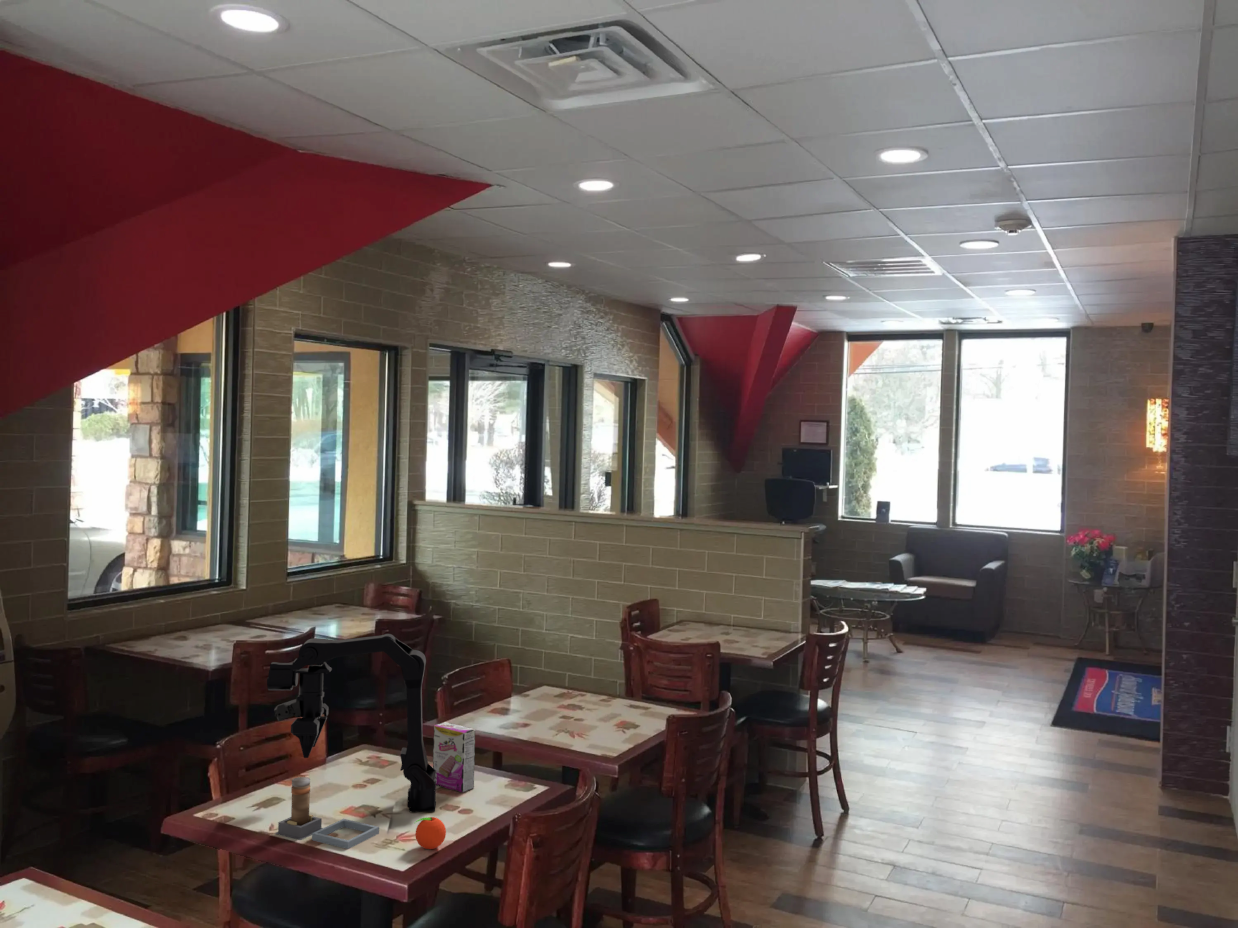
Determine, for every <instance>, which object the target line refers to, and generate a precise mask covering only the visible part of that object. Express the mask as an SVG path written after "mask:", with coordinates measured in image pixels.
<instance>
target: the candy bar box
mask: <svg viewBox="0 0 1238 928" xmlns="http://www.w3.org/2000/svg"><path fill="white" fill-rule="evenodd" d="M475 749H476V729H475V728H471V727H467V726H464V725H463V726H462V725H460V724H455V723H452V722H448V721H444V722H441V723H438V724H435V725H433V751H432V757H433V758H432V767H433V768H434V769H435V770H436V773H435V779H434V781H436V787H441V788H445V789H448V790H453V791H455V792H459V793H467V792H468V791H470V790H472V789H475V788H474V787H475V758H476V757H475V756H476V755H475V753H476V752H475V751H476V750H475Z"/></svg>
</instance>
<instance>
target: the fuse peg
mask: <svg viewBox="0 0 1238 928" xmlns="http://www.w3.org/2000/svg"><path fill="white" fill-rule="evenodd" d="M310 792H311V778H310V777H307V776H299V777H298V776H297V777H294V778H292V779H291V792H290V793H291V815H290V817H291V821H294V822H297V825H298V826H302V825H304V824H306V823H309V814H310V794H311V793H310Z"/></svg>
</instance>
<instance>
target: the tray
mask: <svg viewBox="0 0 1238 928" xmlns="http://www.w3.org/2000/svg"><path fill="white" fill-rule="evenodd" d="M321 828H322V829H320V830H318V831H316V832H314V833H312V835H311V840H312V841H314V842H318V843H322V844H327V845H330V846H333V847H338V848H342V849H343V848H344V849H347V850H349V849H351V848H353V847H355V846H357V845H359V844H362V843H363V842H365V841H367V840H369V839H371V838H373V837H375V836H377V835H379V834H380V826H376V825H373V824H372V825H371V824H367V823H365V822H360V821H355V820H350V819H347V818H342V819H340V820H338V821H335V822H334V823H332V824H329V825H327V826H325V827H321ZM342 828H347V829H351V830H355V831H361V832H362V833H360V834H358V835H356V836H354V837H352V838H350V839H344V838H339V837H336V836H332V835H329V834H331V833H334V832H336V831H338V830H340V829H342Z"/></svg>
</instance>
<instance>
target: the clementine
mask: <svg viewBox="0 0 1238 928" xmlns="http://www.w3.org/2000/svg"><path fill="white" fill-rule="evenodd" d="M417 822H419V823H418V824H417V826H416V828H415V834H414V835H415V839H416V842H417V843H418V845H419V846H420V847H422V848H423V849H424V850H434V849H437V848H438V847H440V846H441V845H442V844H443V842H444V841H445V839H446V835H447V830H446V826H445V824H444V822H443V821H442V820H441V819H439V818H437V817H435V816H429V817H427V816H426V817H422V818H420V819H417V820H415V823H417Z"/></svg>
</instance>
